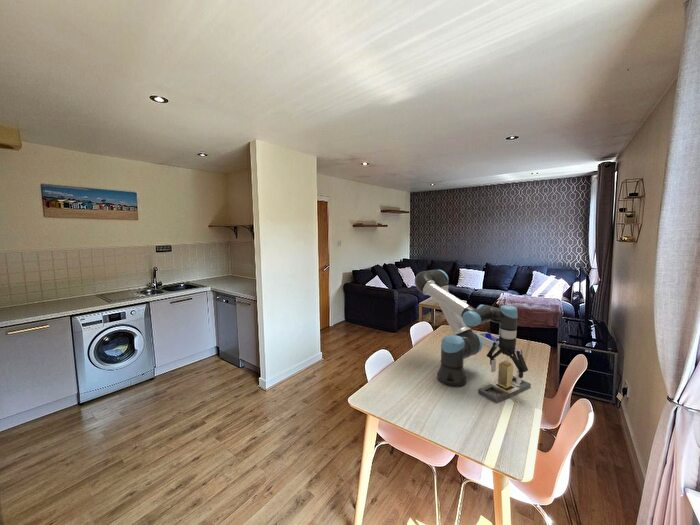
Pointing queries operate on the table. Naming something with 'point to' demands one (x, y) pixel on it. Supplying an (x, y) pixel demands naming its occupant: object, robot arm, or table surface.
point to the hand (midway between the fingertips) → (505, 377)
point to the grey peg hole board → (502, 392)
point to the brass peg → (505, 375)
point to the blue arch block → (490, 337)
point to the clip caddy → (488, 341)
